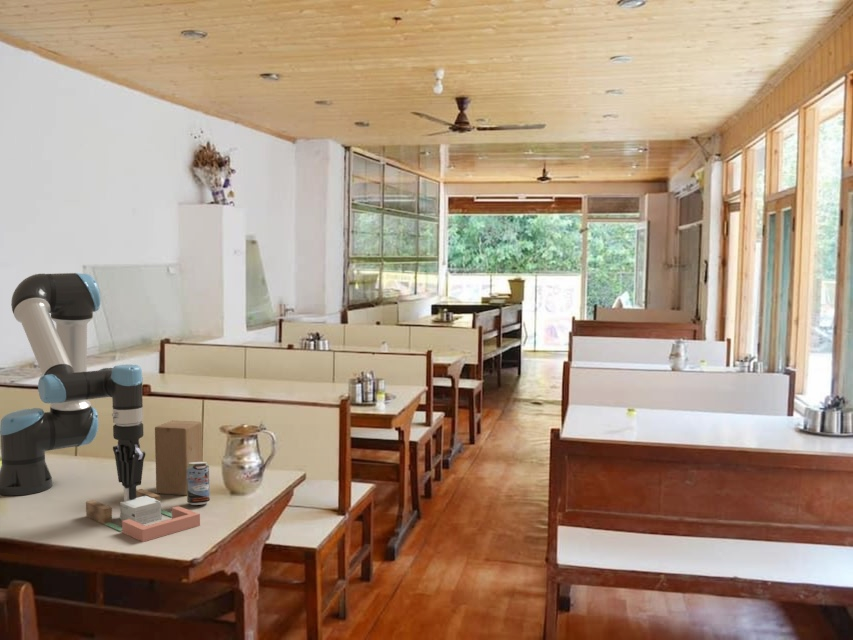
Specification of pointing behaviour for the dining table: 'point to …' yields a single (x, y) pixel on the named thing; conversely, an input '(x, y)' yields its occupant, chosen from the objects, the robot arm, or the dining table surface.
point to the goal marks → (121, 527)
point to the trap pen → (162, 525)
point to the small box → (141, 510)
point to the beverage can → (198, 483)
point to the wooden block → (176, 454)
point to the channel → (105, 512)
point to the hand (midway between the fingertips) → (130, 510)
